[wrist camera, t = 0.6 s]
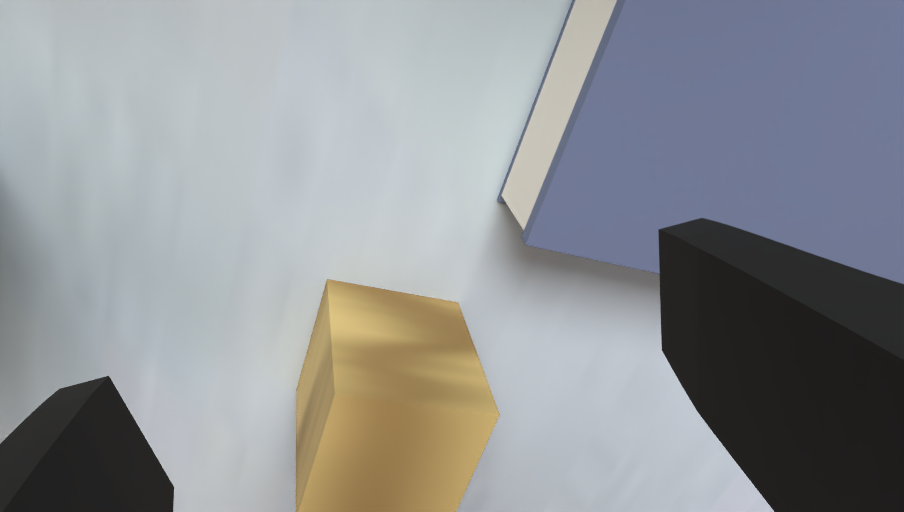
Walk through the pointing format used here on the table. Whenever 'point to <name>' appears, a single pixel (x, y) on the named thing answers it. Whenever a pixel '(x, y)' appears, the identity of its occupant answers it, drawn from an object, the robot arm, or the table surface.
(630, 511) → the table surface
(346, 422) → the mustard block
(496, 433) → the table surface
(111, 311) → the table surface
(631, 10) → the slate blue book
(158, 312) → the table surface
